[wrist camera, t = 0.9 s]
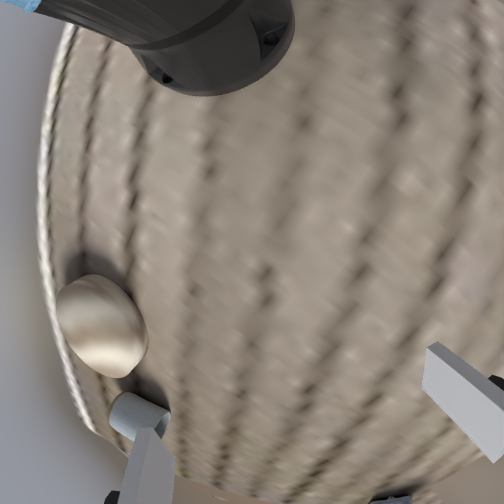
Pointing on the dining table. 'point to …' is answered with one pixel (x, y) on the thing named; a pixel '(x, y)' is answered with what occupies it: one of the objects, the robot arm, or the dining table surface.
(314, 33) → the dining table surface
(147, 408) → the ceramic mug
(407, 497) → the incense holder
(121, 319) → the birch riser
